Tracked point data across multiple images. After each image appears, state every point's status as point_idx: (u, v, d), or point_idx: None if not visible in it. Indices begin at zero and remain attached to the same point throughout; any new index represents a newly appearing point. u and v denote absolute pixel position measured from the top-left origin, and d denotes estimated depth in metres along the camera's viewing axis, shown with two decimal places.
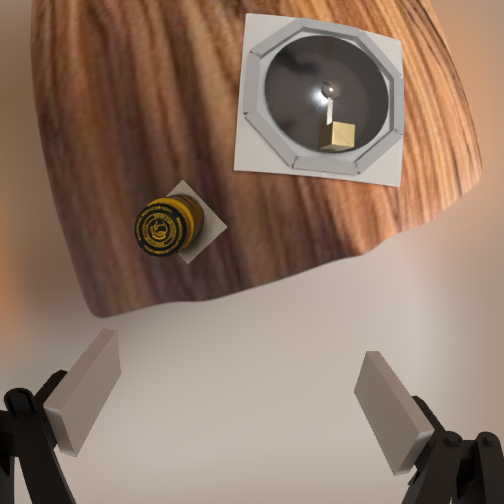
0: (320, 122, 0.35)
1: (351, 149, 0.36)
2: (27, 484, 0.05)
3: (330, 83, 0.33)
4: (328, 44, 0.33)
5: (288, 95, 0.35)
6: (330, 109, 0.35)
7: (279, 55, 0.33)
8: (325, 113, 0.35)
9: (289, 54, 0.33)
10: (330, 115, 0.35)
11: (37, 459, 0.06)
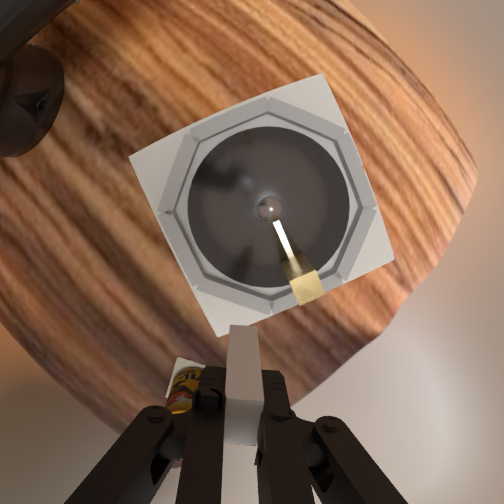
0: (277, 253, 0.32)
1: (325, 262, 0.32)
2: (181, 475, 0.07)
3: (266, 204, 0.30)
4: (239, 147, 0.29)
5: (227, 243, 0.31)
6: (281, 233, 0.31)
7: (192, 199, 0.30)
8: (278, 240, 0.31)
9: (202, 191, 0.30)
10: (285, 239, 0.31)
11: (204, 456, 0.08)
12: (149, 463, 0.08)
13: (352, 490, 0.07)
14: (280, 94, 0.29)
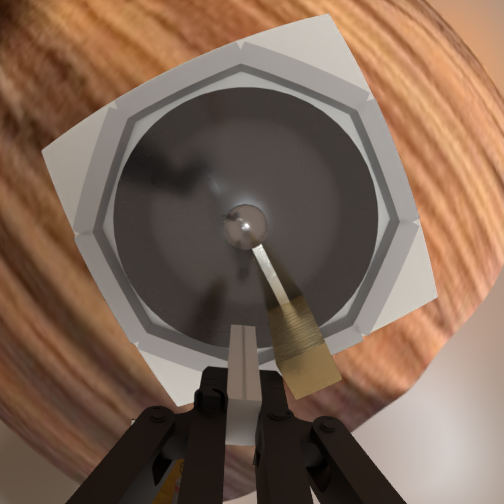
0: (262, 298, 0.19)
1: (340, 306, 0.19)
2: (183, 475, 0.07)
3: (236, 219, 0.17)
4: (188, 125, 0.17)
5: (179, 285, 0.19)
6: (265, 264, 0.19)
7: (119, 216, 0.18)
8: (262, 276, 0.19)
9: (133, 202, 0.18)
10: (273, 274, 0.19)
11: (206, 456, 0.08)
12: (151, 464, 0.08)
13: (350, 490, 0.07)
14: (263, 42, 0.17)
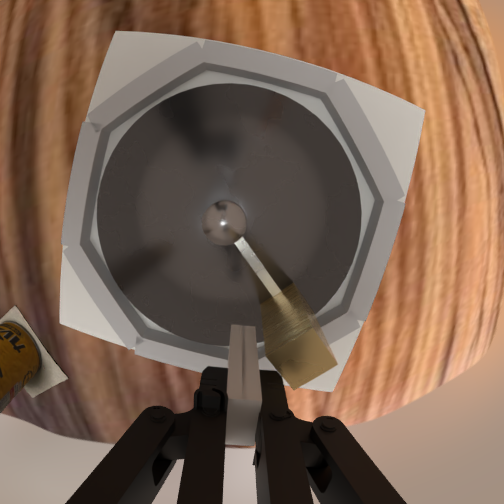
0: (253, 291, 0.19)
1: (334, 290, 0.19)
2: (183, 475, 0.07)
3: (213, 217, 0.17)
4: (154, 132, 0.17)
5: (170, 289, 0.19)
6: (251, 257, 0.18)
7: (103, 230, 0.18)
8: (249, 269, 0.19)
9: (114, 215, 0.18)
10: (260, 266, 0.19)
11: (206, 456, 0.08)
12: (151, 464, 0.08)
13: (350, 490, 0.07)
14: (356, 90, 0.18)
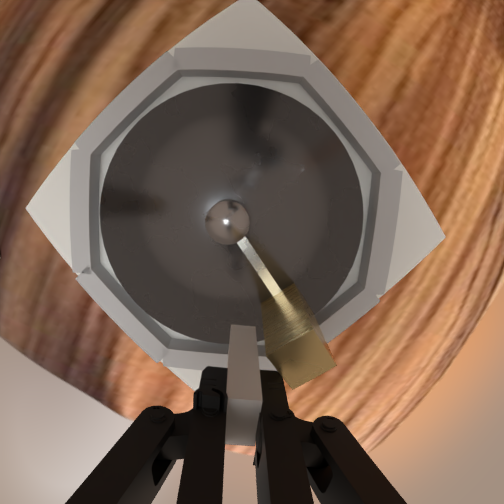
0: (253, 290, 0.19)
1: (334, 291, 0.19)
2: (182, 475, 0.07)
3: (216, 216, 0.17)
4: (160, 129, 0.17)
5: (171, 286, 0.19)
6: (253, 257, 0.19)
7: (106, 226, 0.18)
8: (250, 269, 0.19)
9: (117, 211, 0.18)
10: (262, 265, 0.19)
11: (205, 456, 0.08)
12: (150, 463, 0.08)
13: (351, 490, 0.07)
14: (404, 185, 0.19)
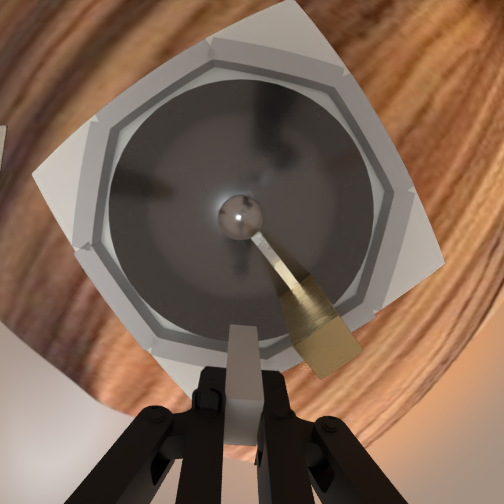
0: (271, 285, 0.19)
1: (350, 279, 0.19)
2: (181, 475, 0.07)
3: (229, 212, 0.17)
4: (164, 130, 0.17)
5: (187, 288, 0.19)
6: (268, 251, 0.18)
7: (115, 232, 0.18)
8: (266, 263, 0.19)
9: (126, 216, 0.18)
10: (277, 259, 0.19)
11: (204, 456, 0.08)
12: (149, 463, 0.08)
13: (352, 490, 0.07)
14: (413, 207, 0.20)
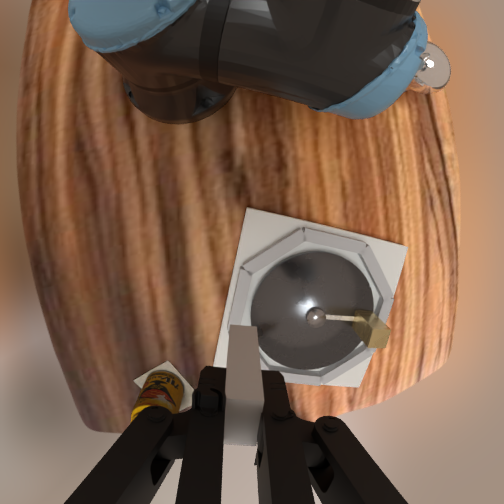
0: (345, 325, 0.39)
1: (371, 297, 0.39)
2: (181, 475, 0.07)
3: (311, 320, 0.38)
4: (262, 313, 0.39)
5: (317, 352, 0.40)
6: (334, 317, 0.39)
7: (275, 358, 0.40)
8: (337, 321, 0.39)
9: (275, 350, 0.40)
10: (339, 316, 0.39)
11: (204, 456, 0.08)
12: (149, 463, 0.08)
13: (352, 490, 0.07)
14: (374, 244, 0.39)
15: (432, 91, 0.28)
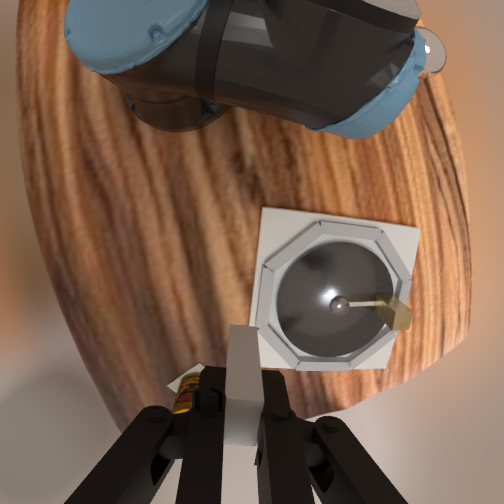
0: (368, 311, 0.40)
1: (391, 281, 0.39)
2: (181, 475, 0.07)
3: (335, 309, 0.39)
4: (287, 308, 0.40)
5: (344, 339, 0.41)
6: (357, 304, 0.40)
7: (304, 349, 0.41)
8: (360, 307, 0.40)
9: (303, 341, 0.41)
10: (362, 302, 0.40)
11: (204, 456, 0.08)
12: (149, 463, 0.08)
13: (352, 490, 0.07)
14: (388, 229, 0.39)
15: (430, 76, 0.28)
